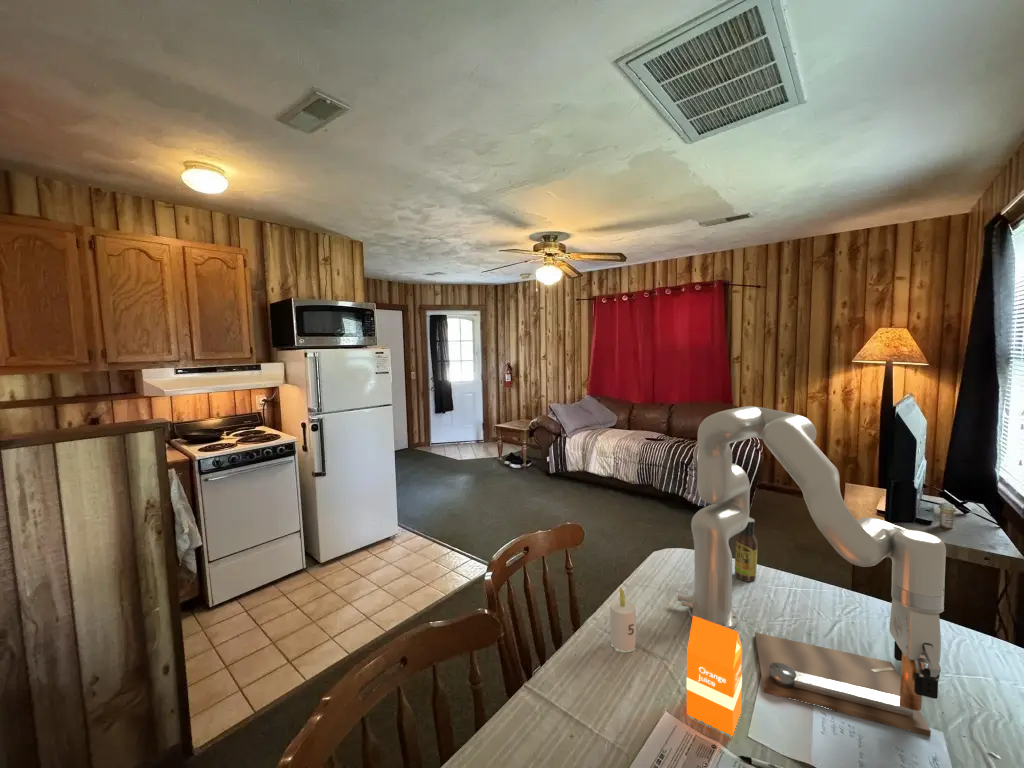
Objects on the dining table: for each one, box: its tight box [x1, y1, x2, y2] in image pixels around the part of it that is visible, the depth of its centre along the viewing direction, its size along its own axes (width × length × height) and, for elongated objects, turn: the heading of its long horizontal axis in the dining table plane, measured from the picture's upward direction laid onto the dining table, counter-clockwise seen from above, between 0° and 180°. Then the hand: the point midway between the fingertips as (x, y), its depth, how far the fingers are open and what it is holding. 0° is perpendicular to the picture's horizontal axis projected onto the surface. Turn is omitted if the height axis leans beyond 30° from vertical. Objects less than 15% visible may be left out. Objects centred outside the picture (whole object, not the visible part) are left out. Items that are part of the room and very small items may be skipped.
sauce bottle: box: [734, 516, 759, 582], centre depth 139 cm, size 6×6×20 cm
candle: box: [609, 587, 637, 651], centre depth 110 cm, size 6×6×15 cm
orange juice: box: [686, 616, 743, 737], centre depth 88 cm, size 8×9×20 cm
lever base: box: [754, 632, 932, 737], centre depth 98 cm, size 28×20×1 cm
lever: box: [769, 653, 925, 717], centre depth 91 cm, size 26×5×12 cm, turn 65°
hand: (914, 677), depth 86 cm, fingers open, 9 cm apart
